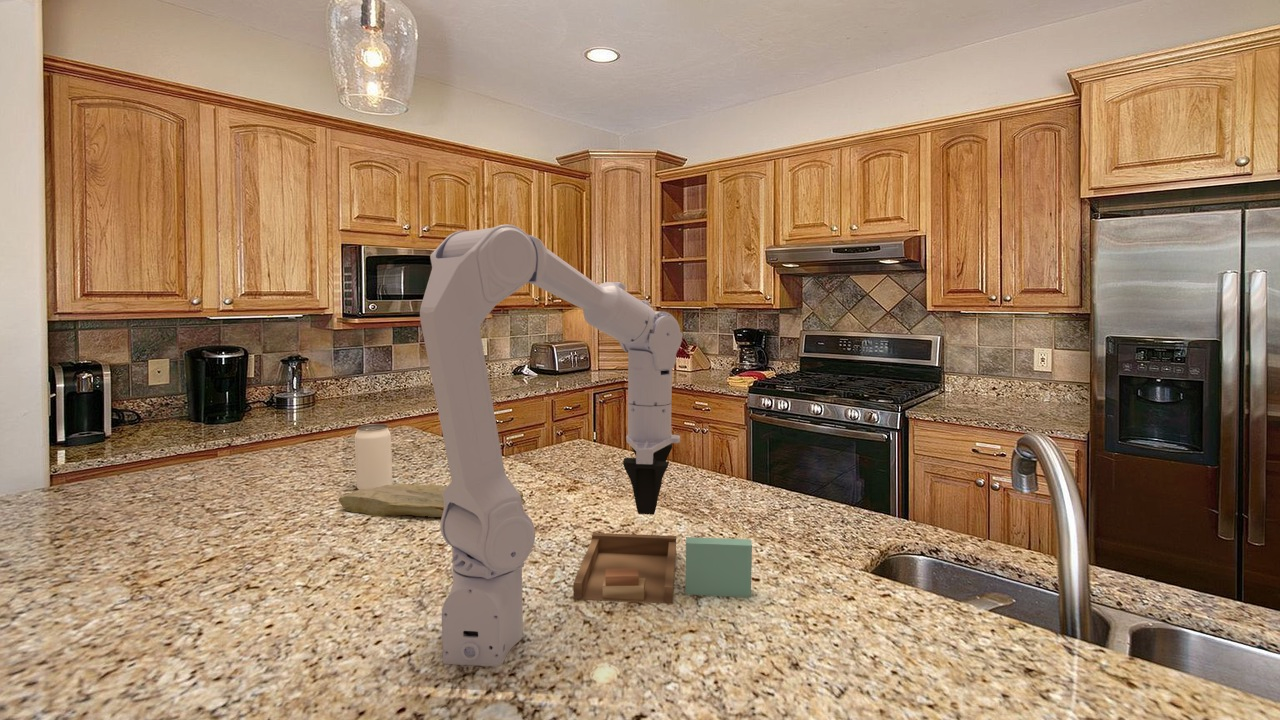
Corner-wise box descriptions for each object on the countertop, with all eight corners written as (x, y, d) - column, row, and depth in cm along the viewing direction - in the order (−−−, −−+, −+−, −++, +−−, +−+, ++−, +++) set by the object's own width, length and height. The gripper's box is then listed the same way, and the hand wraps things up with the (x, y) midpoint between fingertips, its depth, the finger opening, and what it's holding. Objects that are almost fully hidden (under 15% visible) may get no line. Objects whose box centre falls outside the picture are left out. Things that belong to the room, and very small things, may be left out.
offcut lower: (643, 600, 76) (643, 587, 76) (602, 598, 77) (602, 585, 76) (645, 590, 79) (645, 578, 79) (605, 588, 79) (605, 576, 79)
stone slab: (373, 478, 120) (524, 480, 115) (374, 499, 120) (525, 503, 115) (331, 498, 108) (499, 501, 103) (333, 521, 108) (500, 526, 103)
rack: (672, 609, 76) (672, 583, 75) (573, 605, 77) (573, 579, 76) (676, 558, 90) (676, 536, 90) (593, 555, 91) (593, 532, 91)
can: (356, 484, 125) (354, 425, 124) (391, 480, 127) (389, 422, 126) (356, 494, 119) (354, 431, 118) (393, 489, 122) (391, 428, 120)
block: (750, 600, 77) (752, 545, 76) (685, 598, 78) (685, 543, 77) (749, 593, 79) (750, 539, 78) (685, 590, 80) (686, 537, 79)
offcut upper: (638, 585, 77) (638, 576, 76) (605, 586, 76) (605, 576, 76) (637, 577, 79) (637, 568, 79) (605, 578, 79) (605, 568, 78)
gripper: (678, 413, 75) (676, 524, 76) (682, 394, 89) (681, 488, 91) (619, 412, 76) (618, 521, 77) (632, 393, 90) (632, 486, 91)
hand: (648, 503), depth 84 cm, fingers open, 7 cm apart
